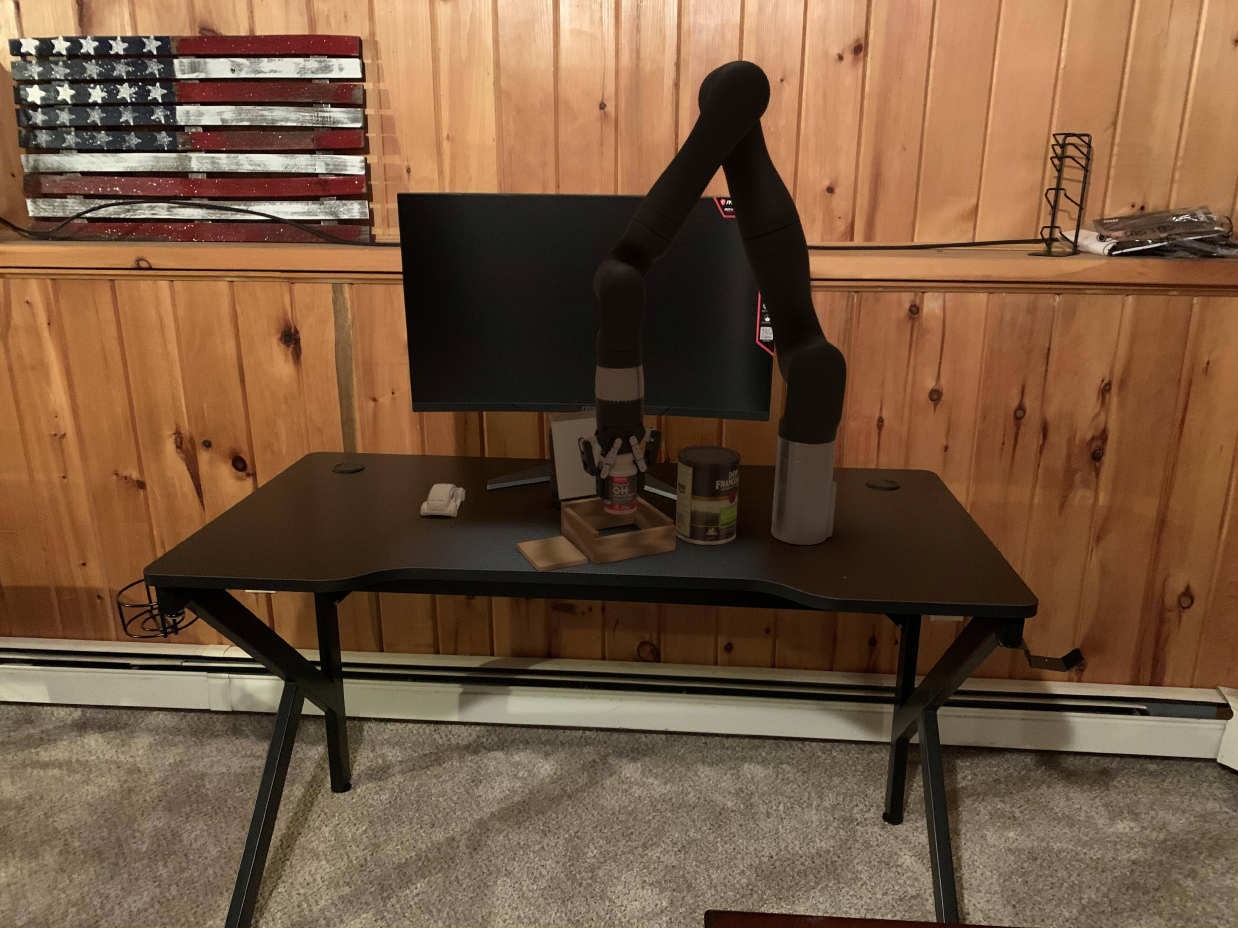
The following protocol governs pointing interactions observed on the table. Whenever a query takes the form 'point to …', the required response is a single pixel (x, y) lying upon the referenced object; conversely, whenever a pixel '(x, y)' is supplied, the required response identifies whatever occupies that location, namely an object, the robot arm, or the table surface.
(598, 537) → the open wooden box
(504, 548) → the table surface
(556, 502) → the black upright cylinder
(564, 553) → the flat wooden board
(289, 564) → the table surface
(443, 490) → the car
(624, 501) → the pill bottle
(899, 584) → the table surface
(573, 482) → the lid
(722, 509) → the coffee can
